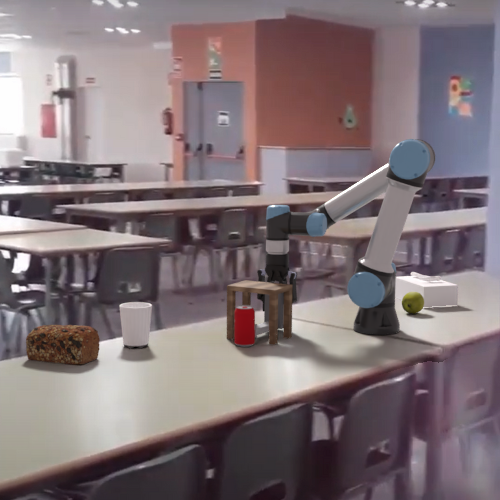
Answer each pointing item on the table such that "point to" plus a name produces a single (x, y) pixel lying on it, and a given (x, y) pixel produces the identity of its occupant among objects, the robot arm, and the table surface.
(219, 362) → the table surface
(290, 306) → the small wooden table
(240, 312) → the beverage can
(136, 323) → the cup
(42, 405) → the table surface
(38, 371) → the table surface
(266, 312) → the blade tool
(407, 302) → the apple
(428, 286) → the tissue box
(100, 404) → the table surface
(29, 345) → the bread
